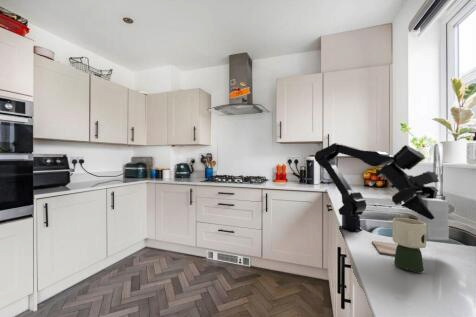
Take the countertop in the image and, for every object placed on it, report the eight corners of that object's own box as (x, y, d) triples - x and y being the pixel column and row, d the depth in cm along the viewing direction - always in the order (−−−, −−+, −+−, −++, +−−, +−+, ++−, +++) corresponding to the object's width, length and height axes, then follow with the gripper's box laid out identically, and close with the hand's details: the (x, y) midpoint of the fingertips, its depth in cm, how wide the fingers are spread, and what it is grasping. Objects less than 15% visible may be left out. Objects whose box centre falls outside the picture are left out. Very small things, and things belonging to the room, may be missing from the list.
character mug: (429, 282, 50) (430, 228, 50) (393, 273, 54) (393, 223, 55) (422, 264, 59) (422, 218, 60) (391, 257, 63) (391, 214, 64)
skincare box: (437, 235, 67) (437, 198, 67) (449, 240, 63) (449, 201, 63) (416, 234, 68) (417, 197, 68) (427, 239, 64) (427, 200, 64)
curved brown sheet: (372, 242, 75) (372, 240, 75) (398, 245, 72) (398, 244, 72) (380, 253, 66) (380, 252, 66) (411, 258, 63) (411, 256, 63)
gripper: (403, 162, 65) (451, 205, 55) (431, 163, 73) (477, 200, 64) (376, 184, 72) (414, 226, 62) (404, 183, 80) (442, 219, 71)
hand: (438, 217), depth 64 cm, fingers closed on skincare box, 7 cm apart
